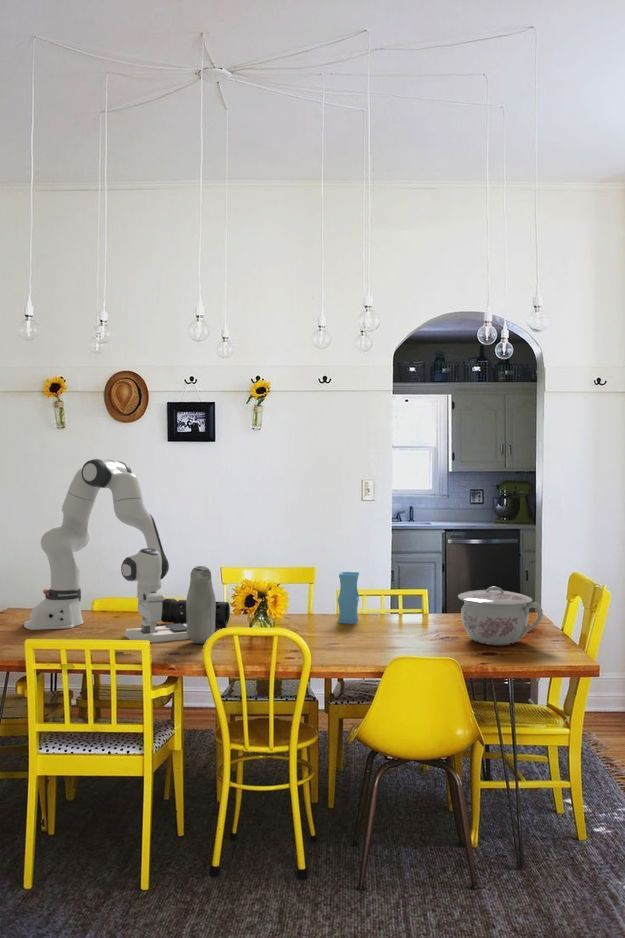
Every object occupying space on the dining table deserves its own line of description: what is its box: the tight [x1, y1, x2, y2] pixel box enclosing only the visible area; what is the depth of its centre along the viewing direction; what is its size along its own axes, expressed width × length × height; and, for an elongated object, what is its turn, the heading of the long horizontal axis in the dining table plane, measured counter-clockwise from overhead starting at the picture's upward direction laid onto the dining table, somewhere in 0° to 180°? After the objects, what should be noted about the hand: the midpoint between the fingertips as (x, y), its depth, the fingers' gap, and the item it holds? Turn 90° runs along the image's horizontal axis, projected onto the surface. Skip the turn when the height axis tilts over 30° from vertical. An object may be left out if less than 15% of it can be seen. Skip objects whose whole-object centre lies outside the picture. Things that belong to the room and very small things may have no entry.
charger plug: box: [141, 620, 151, 634], centre depth 301 cm, size 4×4×6 cm
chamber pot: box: [457, 586, 544, 647], centre depth 303 cm, size 28×28×21 cm
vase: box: [337, 571, 360, 625], centre depth 336 cm, size 8×8×20 cm
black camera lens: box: [160, 598, 231, 628], centre depth 325 cm, size 10×28×10 cm, turn 81°
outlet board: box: [125, 623, 190, 644], centre depth 304 cm, size 24×14×3 cm, turn 117°
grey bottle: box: [186, 565, 217, 645], centre depth 295 cm, size 10×10×28 cm
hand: (148, 629), depth 302 cm, fingers open, 8 cm apart
